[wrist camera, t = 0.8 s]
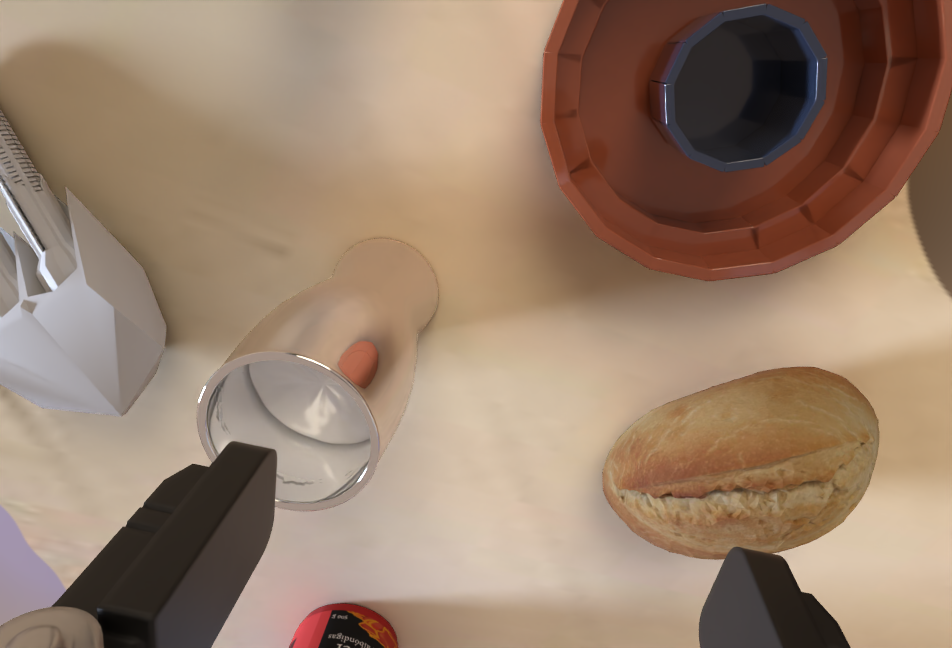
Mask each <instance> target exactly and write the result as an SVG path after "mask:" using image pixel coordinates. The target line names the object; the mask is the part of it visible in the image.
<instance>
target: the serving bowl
mask: <svg viewBox="0 0 952 648" xmlns="http://www.w3.org/2000/svg"><path fill="white" fill-rule="evenodd" d="M763 3H766V4H771V5H774V6H776V7H778V8H781V9H783V10H785V11H788V12H790V13H792V14H795V15H797V16H799V17H802V18H804V19H805V21H808V23H809V24H810V26H811V28H812V30H813V31H814V33H815V35H816V37H817V38H818V40H819V42H820V43H821V45H822V47H823V49H824V50H825V52H826V54H827V56H826V57H827V58H828V65H827V86H826V100H824V102H825V103H824V105H823V107H822V108H821V110H820V112H819V113H818V115H817V117H816V119H815V120H814V122H813V124H812V126H811V127H810V129H809V131H808V132H807V134H806V136H805V138H804V139H803V140H801V139H800V140H801V142H800V143H799V144H797V145H796V146H795V147H793V148H792V149H790V150H789V151H787V152H786V153H784V154H783V155H782V156H780V157H779V158H777V159H776V160H774V161H773V162H771V163H770V164H769V165H767V166H765V165H764V167H760V168H753V169H746V170H739V171H732V172H721V171H718V170H716V169H714V168H711V167H709V166H706V165H704V164H701V163H699V162H696V161H694V160H692V159H689V158H688V157H686V156H685V155H684V154H682V153H681V152H679V151H678V150H676V149H675V148H673V147H672V146H671V145H669V144H668V142H667V141H666V139H665V138H664V136H663V135H662V133H661V132H660V130H659V129H658V127H657V126H656V125H655V123H654V122H653V120H652V119H651V118H652V117H651V116H650V99H649V81H650V80H649V78H650V76H651V74H652V71H653V69H654V67H655V65H656V63H657V60H658V58H659V56H660V54H661V52H662V50H663V47H664V45H665V44H667V42H668V41H669V40H670V39H671V38H673V37H674V36H675V35H676V34H677V33H679V32H680V31H681V30H682V29H684V28H685V27H686V26H687V25H689V24H690V23H691V22H692V21H694V20H695V19H696V18H699V17H701V16H705V15H709V14H713V13H717V12H721V11H725V10H730V9H736V8H741V7H747V6H752V5H758V4H763ZM951 91H952V0H563V2H562V5H561V8H560V10H559V13H558V15H557V18H556V21H555V23H554V26H553V28H552V31H551V34H550V36H549V39H548V41H547V44H546V47H545V49H544V54H543V71H542V91H541V112H540V123H541V128H542V132H543V135H544V138H545V142H546V145H547V148H548V152H549V155H550V159H551V162H552V165H553V169H554V172H555V175H556V179H557V182H558V185H559V187H560V189H561V191H562V192H563V193H564V195H565V196H566V197H567V198H568V200H569V201H570V202H571V204H572V205H573V206H574V208H575V209H576V210H577V212H578V213H579V214H580V216H581V217H582V218H583V220H584V221H585V222H586V224H587V225H588V226H589V227H590V229H591V230H592V231H593V233H594V234H595V235H596V236H597V237H598V238H599V239H601V240H603V241H604V242H606V243H607V244H609V245H611V246H612V247H614V248H615V249H617V250H619V251H620V252H622V253H624V254H625V255H627V256H628V257H630V258H632V259H633V260H635V261H636V262H638V263H640V264H641V265H643V266H644V267H646V268H648V269H651V270H656V271H661V272H666V273H670V274H675V275H680V276H685V277H690V278H694V279H699V280H704V281H716V280H724V279H733V278H741V277H750V276H758V275H766V274H773V273H777V272H779V271H781V270H784V269H786V268H788V267H790V266H793V265H795V264H797V263H799V262H802V261H804V260H806V259H809V258H811V257H813V256H815V255H818V254H820V253H822V252H824V251H827V250H829V249H831V248H834V247H836V246H838V245H839V244H841V243H842V242H843V241H844V240H845V239H846V238H848V237H849V236H850V235H851V234H852V233H854V232H855V231H856V230H857V229H858V228H860V227H861V226H862V225H863V224H864V223H866V222H867V221H868V220H869V219H870V218H872V217H873V216H874V215H875V214H876V213H878V212H879V211H880V210H881V209H882V208H883V207H885V206H886V205H887V204H888V203H889V202H891V201H892V200H893V199H894V198H895V196H897V195H898V193H899V192H900V190H901V189H902V187H903V186H904V184H905V183H906V181H907V180H908V178H909V177H910V175H911V174H912V172H913V171H914V169H915V168H916V166H917V165H918V163H919V162H920V160H921V159H922V157H923V156H924V154H925V153H926V151H927V150H928V148H929V147H930V145H931V144H932V142H933V141H934V140H935V138H936V137H937V135H938V133H939V131H940V129H941V125H942V122H943V119H944V115H945V112H946V108H947V105H948V101H949V98H950V95H951Z"/></svg>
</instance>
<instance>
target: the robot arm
mask: <svg viewBox="0 0 952 648" xmlns="http://www.w3.org/2000/svg"><path fill="white" fill-rule="evenodd" d="M276 474H277V452H276V450H275V449H271V448H266V447H261V446H256V445H251V444H247V443H242V442H237V441H231V442H230V443H228V444H227V446H226V447H225V448H224V449H223V450H222V452H221V453H220V454H219V455H218V457H217V458H216V459H215V460H214V462H213V463H212V464H211V465H210V467H206V466H201V465H197V464H191V465H190V466H188V467H186V468H185V469H183V470H181V471H179V472H178V473H176V474H174V475H172V476H171V477H169V478H167V479H165V480H164V481H163V482H162V483H161V484H160V485H159V487H158V488H157V489H156V490H155V491H154V492H153V493H152V494H151V496H150V497H149V498H148V499H147V500H146V501H145V502H144V505H143V507H142V508H139V509H138V510H137V511H136V512H135V514H134V515H133V516H132V517H131V518H130V519H129V520H128V522H127V525H126V527H122V528H121V529H120V531H119V532H118V533H117V534H116V535H115V536H114V537H113V538H112V540H111V541H110V542H109V543H108V544H107V545H106V546H105V548H104V549H103V550H102V551H101V552H100V553H99V554H98V555H97V557H96V558H95V559H94V560H93V561H92V562H91V563H90V564H89V566H88V567H87V568H86V569H85V570H84V571H83V572H82V573H81V575H80V576H79V577H78V578H77V579H76V580H75V581H74V583H73V584H72V585H71V586H70V587H69V588H68V589H67V590H66V592H65V593H64V594H63V595H62V596H61V597H60V598H59V600H58V601H57V602H56V603H55V604H54V605H53V606H52V607H49V608H43V609H38V610H35V611H31V612H28V613H25V614H23V615H20V616H18V617H16V618H13V619H12V620H10V621H8V622H6V623H4V624H3V625H1V626H0V648H211V647H212V645H213V643H214V641H215V639H216V638H217V636H218V634H219V632H220V630H221V629H222V627H223V625H224V623H225V621H226V620H227V618H228V616H229V614H230V612H231V611H232V609H233V607H234V605H235V603H236V602H237V600H238V598H239V596H240V594H241V593H242V591H243V589H244V587H245V585H246V584H247V582H248V580H249V578H250V576H251V575H252V573H253V571H254V569H255V567H256V566H257V564H258V562H259V560H260V558H261V557H262V555H263V553H264V551H265V549H266V546H267V544H268V541H269V538H270V534H271V531H272V527H273V521H274V510H275V492H276ZM699 641H700V647H701V648H850V646H849V644H848V642H847V640H846V638H845V636H844V634H843V632H842V630H841V628H840V627H839V625H838V623H837V622H836V621H835V619H834V618H833V617H832V616H831V615H830V614H829V613H828V612H827V611H826V609H825V608H824V607H823V606H822V605H821V604H820V603H819V602H818V601H817V600H816V598H815V597H814V596H813V595H812V594H809V593H804V592H801V591H800V588H799V586H798V584H797V582H796V580H795V578H794V576H793V574H792V572H791V570H790V568H789V566H788V564H787V562H786V561H785V559H784V558H783V557H781V556H779V555H775V554H770V553H766V552H761V551H756V550H751V549H746V548H741V547H733V548H732V549H731V550H730V551H729V552H728V554H727V556H726V558H725V560H724V562H723V565H722V567H721V569H720V571H719V573H718V576H717V578H716V580H715V582H714V584H713V587H712V589H711V591H710V593H709V595H708V597H707V600H706V602H705V604H704V606H703V609H702V612H701V616H700V622H699Z"/></svg>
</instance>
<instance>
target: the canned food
mask: <svg viewBox="0 0 952 648" xmlns="http://www.w3.org/2000/svg"><path fill="white" fill-rule="evenodd" d="M289 648H398V642H397V637H396V634H395V632H394V630H393V628H392V627H391V625H390V624H389V623H388V622H387V621H386V620H385V619H384V618H383V617H382V616H380V615H379V614H377V613H375V612H374V611H372V610H369V609H367V608H365V607H361V606H358V605H353V604H331V605H326V606H323V607H320V608H318V609H316V610H314V611H313V612H311V613H310V614H309V615H308V616H307V617H306V618H305V619H304V620H303V622H302V623H301V624H300V625H299V627H298V629H297V630H296V632H295V635H294V637H293V639H292V642H291V644H290V646H289Z"/></svg>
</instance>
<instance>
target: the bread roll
mask: <svg viewBox="0 0 952 648" xmlns="http://www.w3.org/2000/svg"><path fill="white" fill-rule="evenodd" d="M878 446H879V428H878V419H877V417H876V414H875V412H874V409H873V408H872V406H871V404H870V403H869V401H868V400H867V399H866V398H865V397H864V395H863V394H862V393H861V392H860V391H859V390H858V389H857V388H856V387H855V386H854V385H853V384H851V383H850V382H849V381H848V380H847V379H845V378H843V377H842V376H839V375H837V374H834V373H831V372H828V371H825V370H822V369H819V368H815V367H790V368H780V369H772V370H767V371H762V372H757V373H755V374H752V375H749V376H746V377H743V378H740V379H736V380H732V381H730V382H727V383H723V384H720V385H717V386H713V387H710V388H708V389H706V390H703V391H700V392H697V393H694V394H692V395H689V396H686V397H683V398H680V399H677V400H675V401H672V402H669V403H667V404H665V405H663V406H660V407H658V408H656V409H653V410H651V411H650V412H649V413H647V414H646V415H644V416H643V417H642V418H640V419H639V420H638V421H636V422H635V423H634V424H633V425H632V426H631V427H630V428H629V429H628V430H627V431H626V432H625V433H624V434H623V435H621V436H620V438H619V439H618V440H617V442H616V443H615V444H614V446H613V447H612V449H611V450H610V452H609V455H608V457H607V459H606V462H605V466H604V469H603V491H604V494H605V496H606V499H607V501H608V502H609V504H610V506H611V507H612V508H613V510H614V511H615V512H616V513H617V515H618V516H619V517H620V518H621V519H622V520H623V521H624V522H625V523H626V524H627V526H628V527H629V528H630V529H631V530H632V531H633V532H634V533H636V534H637V535H639V536H640V537H641V538H643V539H645V540H646V541H648V542H650V543H652V544H653V545H655V546H657V547H660V548H663V549H665V550H667V551H669V552H672V553H677V554H681V555H685V556H689V557H694V558H700V559H715V560H717V559H725V558H726V556H727V554H728V552H729V551H730V550H731V549H732V548H733V547H741V548H746V549H751V550H756V551H761V552H766V553H770V554H772V553H777V552H781V551H785V550H788V549H792V548H795V547H798V546H801V545H803V544H807V543H809V542H811V541H813V540H815V539H818V538H819V537H821V536H823V535H825V534H826V533H828V532H830V531H831V530H833V529H834V528H835V527H837V526H838V525H840V524H841V523H842V522H844V520H845V519H846V517H847V516H848V515H849V514H850V513H851V512H852V511H853V510H854V508H855V507H856V506H857V505H858V503H859V502H860V500H861V499H862V497H863V496H864V493H865V491H866V490H867V487H868V485H869V483H870V480H871V475H872V472H873V470H874V465H875V461H876V458H877V453H878Z"/></svg>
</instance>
